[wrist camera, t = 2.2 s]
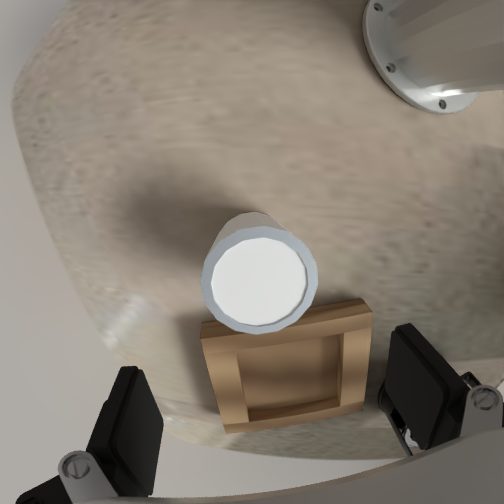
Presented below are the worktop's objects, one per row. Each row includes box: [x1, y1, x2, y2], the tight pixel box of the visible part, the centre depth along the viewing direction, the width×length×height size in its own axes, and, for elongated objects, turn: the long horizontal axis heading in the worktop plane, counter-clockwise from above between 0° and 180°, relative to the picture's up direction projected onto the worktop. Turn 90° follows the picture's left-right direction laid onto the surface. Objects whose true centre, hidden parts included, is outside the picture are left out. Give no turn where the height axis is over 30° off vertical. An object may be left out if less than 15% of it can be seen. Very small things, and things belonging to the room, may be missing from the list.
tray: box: [200, 299, 373, 434], centre depth 28 cm, size 12×14×2 cm
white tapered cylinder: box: [200, 212, 318, 335], centre depth 22 cm, size 7×7×7 cm
